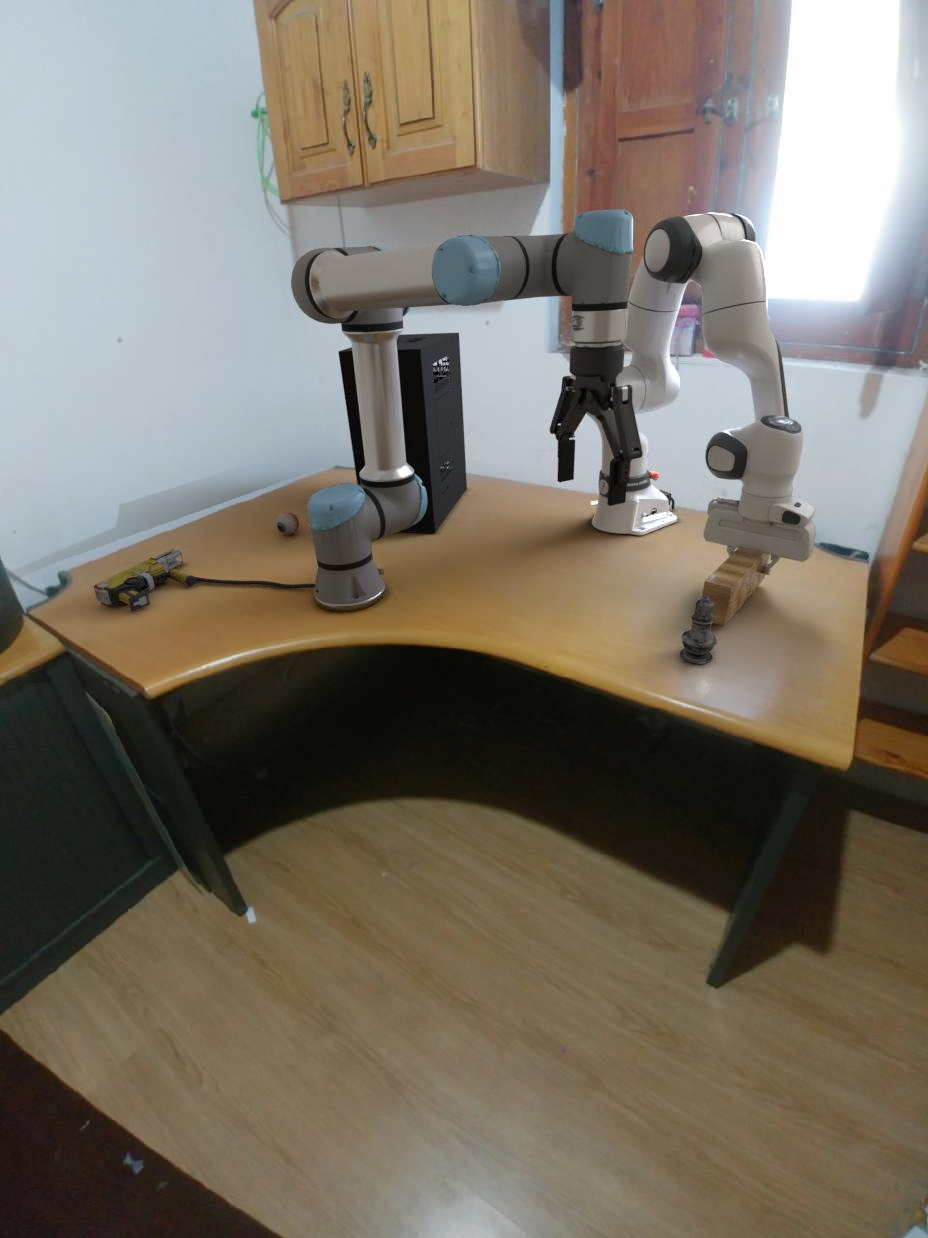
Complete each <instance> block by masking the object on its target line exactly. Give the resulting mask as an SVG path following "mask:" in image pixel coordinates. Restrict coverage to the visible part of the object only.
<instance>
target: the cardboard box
mask: <svg viewBox="0 0 928 1238" xmlns="http://www.w3.org/2000/svg"><path fill="white" fill-rule="evenodd" d="M396 341H397V353H398V366H399V378H400V391H401V403H402V416H403V428H404V441H405V453H406V462H407V463H408V464H409V465H410V466H411V467H412V468H413V469H414V474H416V475H417V476H418V477H419V478H420V479H421V481H422V486H424V487H425V489H426V493H427V508H426V512H425V514H424V516H423V518H422V519H421V520H420V521H419V522H418V523H416V524H414V525H412V526H411V527H409V528H408V529H406V530H401V531H399V532H398V533H423V534H425V533H426V534H436V533H437V531H438V530H439V529H440V527H441V526H442V525H443V523H444V522H445V520H446V519H447V517H448V516H449V514H450V512H452V510H453V509H454V507H455V506H456V505H457V503H458V502H459V500H460V499H461V497H462V496H463V495H464V493H465V492H466V491H467V489H468V486H467V485H468V484H467V483H468V482H467V481H468V480H467V466H466V445H465V443H466V442H465V425H464V424H465V423H464V406H463V405H464V404H463V402H464V401H463V385H462V383H463V382H462V367H461V365H462V363H461V345H460V343H461V342H460V332H438V333H437V332H436V333H434V332H433V333H410V334H408V333H407V334H406V333H405V334H400V335H399V336H398V338H397V340H396ZM338 359H339V366H340V373H341V378H342V379H341V381H342V387H343V395H344V402H345V407H346V409H345V410H346V414H347V415H346V417H347V420H348V421H347V422H348V428H349V437H350V441H351V442H350V443H351V450H352V456H353V463H354V471H355V479H356V484H358V485H359V486H361V483H360V471H361V470H362V469H363V468H364V466H365V465H366V464H365V455H364V447H363V438H362V430H361V421H360V412H359V404H358V395H357V386H356V378H355V369H354V360H353V352H352V346H351V347H348V348H345V349H341V350H339V351H338ZM440 360H441V363H440ZM435 363H436V365H435Z"/></svg>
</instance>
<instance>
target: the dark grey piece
mask: <svg viewBox="0 0 928 1238" xmlns="http://www.w3.org/2000/svg"><path fill="white" fill-rule="evenodd" d="M704 597H705V598H702V597H701V598H698V599H697V600H696V602H695V606H694V610H693V614H692V615H691V616H690V619H691V621H692V622H691V627H690V629H687V630H685V631H683V632H682V633H681V635H680V638H681V641H682V646H683V647H684V648H682V649H681V651H680V652H679V655H680V657H681V658H682V659H683V660H684V661H686V662H688V663H692V664H695V665H704V664H708V663H711V662H712V660H713V654H712V653H711V652H712V650H713V649H714V648H715V645H716V646H717V644H718V638H717V636H716V635H715V634H714V633H712V632H711V628H712V624H714V623H713V622H714V618H713V617H712V615H713V609H714V603H713V601H712V600H710V599H708V595H707V594H706V595H705V596H704Z"/></svg>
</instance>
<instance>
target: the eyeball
mask: <svg viewBox="0 0 928 1238" xmlns="http://www.w3.org/2000/svg"><path fill="white" fill-rule="evenodd" d="M299 525H300V522H299V519H298V517H297V516H296V515H295V514H294V513H292V512H287V511H286V512H282V513H280V514H279V515H278V516H277V517H276V520H275V527H276V529H277V530H278V531H279V532H280V533H281V534H282V535H285V536H286V535H287V536H289V535H293V534H295V533H296V532H297V531H298V529H299Z"/></svg>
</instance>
